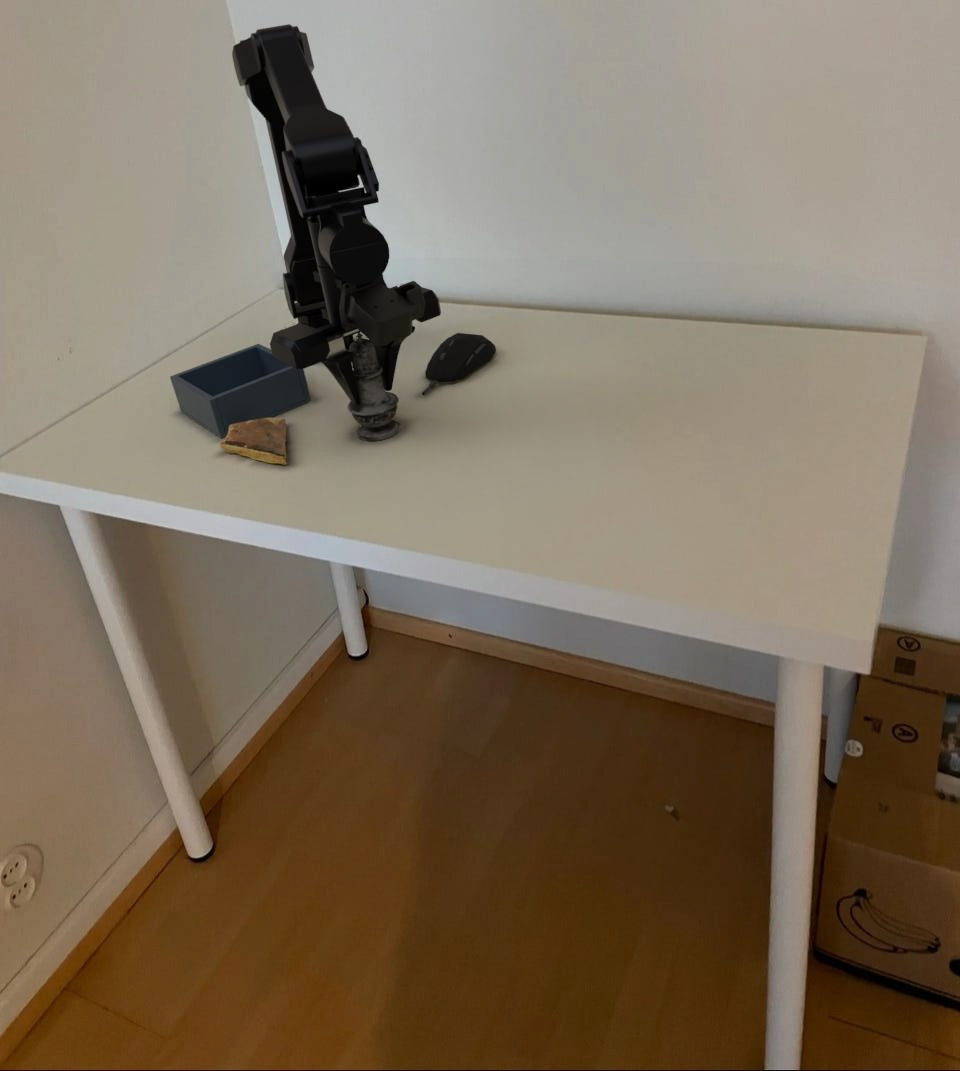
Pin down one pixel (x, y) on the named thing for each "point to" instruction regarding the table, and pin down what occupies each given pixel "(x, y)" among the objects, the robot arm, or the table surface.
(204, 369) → the bin
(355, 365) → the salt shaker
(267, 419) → the shard
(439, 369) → the gaming mouse
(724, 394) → the table surface
